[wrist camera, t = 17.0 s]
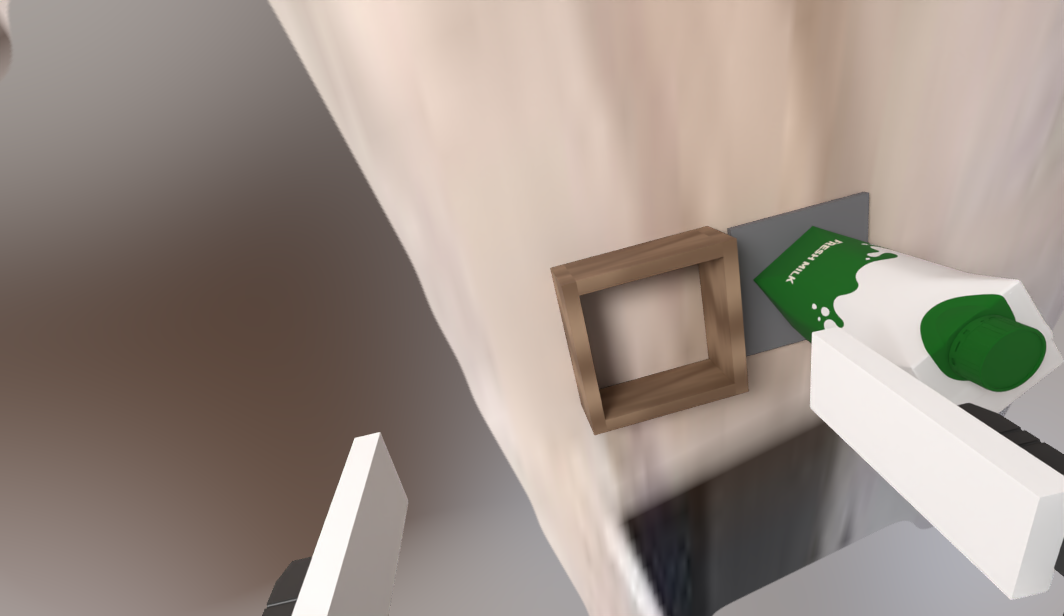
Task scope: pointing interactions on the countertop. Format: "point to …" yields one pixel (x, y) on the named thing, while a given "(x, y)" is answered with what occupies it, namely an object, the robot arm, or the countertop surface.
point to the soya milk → (917, 316)
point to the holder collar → (679, 384)
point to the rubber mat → (767, 243)
